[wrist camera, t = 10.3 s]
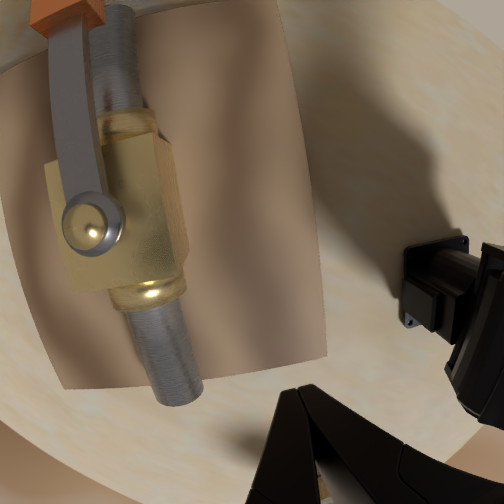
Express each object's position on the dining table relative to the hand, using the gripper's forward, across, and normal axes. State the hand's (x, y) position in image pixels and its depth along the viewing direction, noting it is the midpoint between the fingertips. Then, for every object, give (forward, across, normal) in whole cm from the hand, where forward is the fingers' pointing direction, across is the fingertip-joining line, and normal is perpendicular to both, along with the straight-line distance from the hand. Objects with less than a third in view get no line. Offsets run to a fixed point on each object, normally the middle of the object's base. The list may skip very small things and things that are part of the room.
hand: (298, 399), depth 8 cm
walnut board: (+13, +6, -5) cm, 15 cm away
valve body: (+13, +6, -5) cm, 15 cm away
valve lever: (+6, +6, -11) cm, 14 cm away
